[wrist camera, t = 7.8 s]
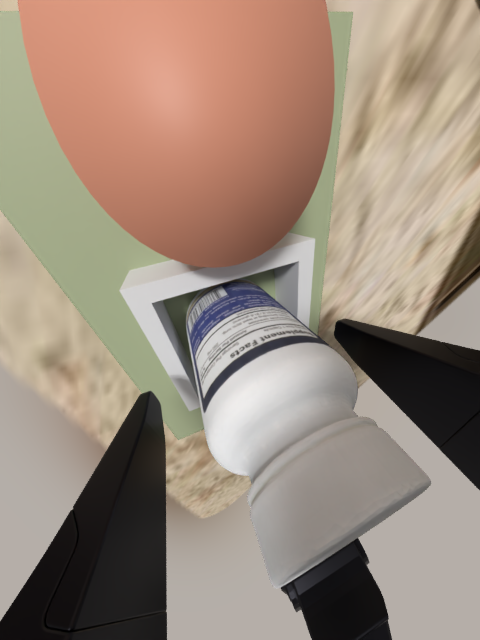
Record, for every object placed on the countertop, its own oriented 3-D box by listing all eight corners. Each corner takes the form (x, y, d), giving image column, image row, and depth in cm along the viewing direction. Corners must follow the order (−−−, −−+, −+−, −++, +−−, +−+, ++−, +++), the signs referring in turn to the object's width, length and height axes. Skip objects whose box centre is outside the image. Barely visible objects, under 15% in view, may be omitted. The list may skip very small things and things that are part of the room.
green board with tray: (306, 375, 20) (341, 417, 16) (177, 429, 18) (181, 496, 14) (333, 31, 8) (520, -157, 4) (-103, 41, 5) (-1164, -602, 1)
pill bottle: (263, 342, 14) (389, 518, 6) (190, 357, 12) (235, 617, 5) (271, 271, 11) (523, 429, 3) (178, 279, 10) (238, 606, 2)
